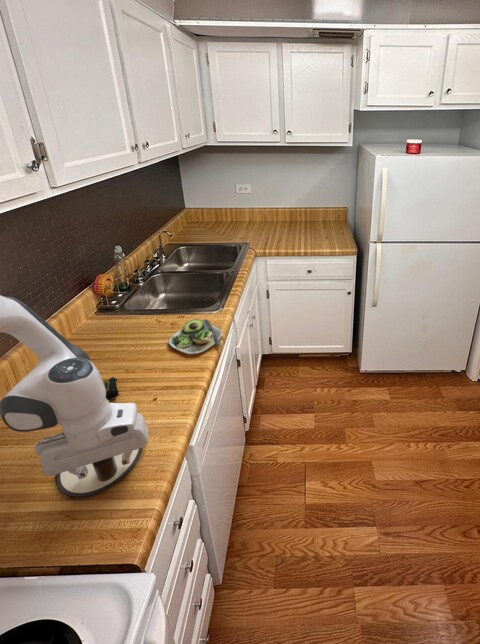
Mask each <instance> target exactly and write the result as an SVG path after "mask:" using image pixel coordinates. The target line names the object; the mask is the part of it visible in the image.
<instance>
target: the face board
mask: <svg viewBox="0 0 480 644" xmlns="http://www.w3.org/2000/svg"><path fill="white" fill-rule="evenodd" d="M143 449H144V447H143V448H140V449H136V450H133V451H132V454H131V460H130V463H129V464H126V465H122V464H123V463H122V462H121V461H122V454H120V455H117V456H114V459H115V462H116V464H117V468H118V469H117V472H116V474H115V475H114V476H113V477H112V478H111V479H109V480H107V481H99V480H98V477H97V475H96V472H95V469H94V467H93V464H92V463H91V464H88V465H85V466H87V469H88V474H87V477H85V478H82V479H80V480H79V478H78V476H77V475H74V474H71V473H69V471H66V472H62V473H59V474H56V485H57V487H58V490H59V491H60V492H61V493H62V494H63V495H64V496H67V497H69V498H73V499H75V498H77V499H82V498H88V497H92V496H96V495H98V494H101V493H102V492H104V491H106V490H108V489H110V488H112V487H114V486H115V485H117V484H118V483H119V482H120V481H122V480H123V479H124V478H125V477H126V476H127V475H128V474H129V473H130V472H131V471H132V470H133V468H134V467H135V466H136V464H137V463H138V461H139V460H140V457H141V455H142V452H143ZM123 454H125V453H123ZM82 467H84V466H82Z"/></svg>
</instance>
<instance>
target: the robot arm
mask: <svg viewBox="0 0 480 644" xmlns="http://www.w3.org/2000/svg"><path fill="white" fill-rule="evenodd" d="M0 333H4V334H8V335H10V336H12V337H13V338H15V339H16V340H17V341H19V342H20V343H21V344H22V345H23V346H24V347H26V348H27V349H29V350H30V351H31V352H32V353H33V354H35V355H36V356H37V357H38V361H37V365H36V366H35V367H34V368H33V369H32V370H31V371H30V372H28V373H27V374H26V376H24V377H23V378H21V380H20V381H19V382H17V383H16V384H15V385H14V386H13V387H12V388H11V389H10V390H9V391H8V392H7V393H6V394H5V396H4V397H3V398H1V399H0V418H1V420H2V422H4V424H5V425H6V426H7V427H8V428H9V429H10V430H12V431H13V432H19V433H30V432H36V431H41V430H46V429H50V428H54V427H56V426H57V425H58V426H59V425H60V427H61V430H62V432H59V433H57V434H54V435H51V436H45V437H42V438H41V439H40V440H39V441H38V442H36V444H35V445H34V451H35V453H36V454H37V456H39V460H40V467H41V470H42V473H43V475H44V476H46V477H53V476H57V474H59V473H62V472H66V471H69V473H71V474H74V475H77V476H78V478H79V480H80V479H82V478H85V477H87V474H88V469H87V466H85V465H88V464H91V463H95V462H98V461H101V460H104V459H107V458H111V457H114V456H117V455H120V454H122V461H121V462H122V463H123V464H122V465H126V464H129V463H130V460H131V454H132V451H133V450H136V449H140V448H143V449H144V448H145V447H146V446H147V445H148V444H149V441H150V429H149V426H148V423H147V421H146V419H145V417H144V415H143V414H142V413H140V412H138V406H137V404H136V403H135V402H110V400H109V401H108V400H107V399H106V389H105V386H104V383H103V381H104V380H103V377H102V375H101V373H100V371H99V369H98V368H97V367H96V365H95V364H94V363H93V361H91V358H90V356H89V354H88V353H87V352H86V351H85V350H84V349H82V348H80V347H78V346H77V345H75V344H73V343H72V342H70V341H69V340H67V338H65V337H64V336H63V335H62V334H61V333H60V332H58V331H57V329H55V328H54V327H52V325H50V324H49V323H48V322H47V321H46V319H44V318H42V316H40V315H39V314H38V313H37V312H35V311H34V310H33V309H32V308H31V307H30V306H28V305H27V304H26V303H24V302H23V301H21V300H19V299H18V298H15V297H12V296H3V295H1V294H0ZM123 453H125V454H123ZM82 466H84V467H82Z"/></svg>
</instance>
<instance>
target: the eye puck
mask: <svg viewBox="0 0 480 644" xmlns="http://www.w3.org/2000/svg"><path fill="white" fill-rule="evenodd" d="M92 464H93V467H94V469H95V472H96V475H97V477H98V480H99V481H107V480H109V479H111V478H112V477H113V476H114V475H115V474H116V472H117V469H118V468H117V464H116V462H115V459H114V457H111V458H107V459H104V460H101V461H98V462H95V463H92Z"/></svg>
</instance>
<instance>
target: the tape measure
mask: <svg viewBox="0 0 480 644" xmlns="http://www.w3.org/2000/svg"><path fill="white" fill-rule="evenodd" d="M117 382H118V379H117V378H115V377H110V378H108V379H104V380H103V383H104V386H105V389H106V399H107V400H108V401H109V402H110V401H111V400H112V399H115V398H116V397H118V396H119V395H120V393H119V389H118V385H117Z"/></svg>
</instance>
